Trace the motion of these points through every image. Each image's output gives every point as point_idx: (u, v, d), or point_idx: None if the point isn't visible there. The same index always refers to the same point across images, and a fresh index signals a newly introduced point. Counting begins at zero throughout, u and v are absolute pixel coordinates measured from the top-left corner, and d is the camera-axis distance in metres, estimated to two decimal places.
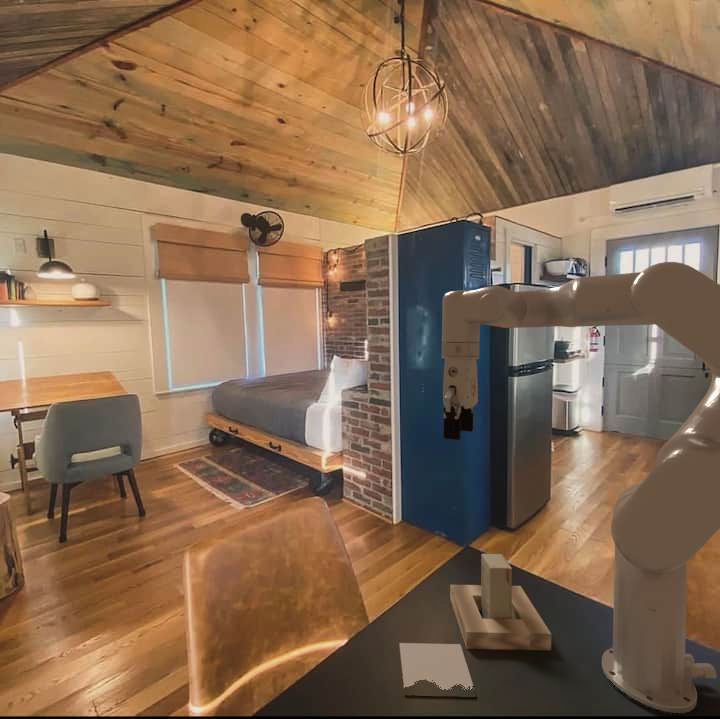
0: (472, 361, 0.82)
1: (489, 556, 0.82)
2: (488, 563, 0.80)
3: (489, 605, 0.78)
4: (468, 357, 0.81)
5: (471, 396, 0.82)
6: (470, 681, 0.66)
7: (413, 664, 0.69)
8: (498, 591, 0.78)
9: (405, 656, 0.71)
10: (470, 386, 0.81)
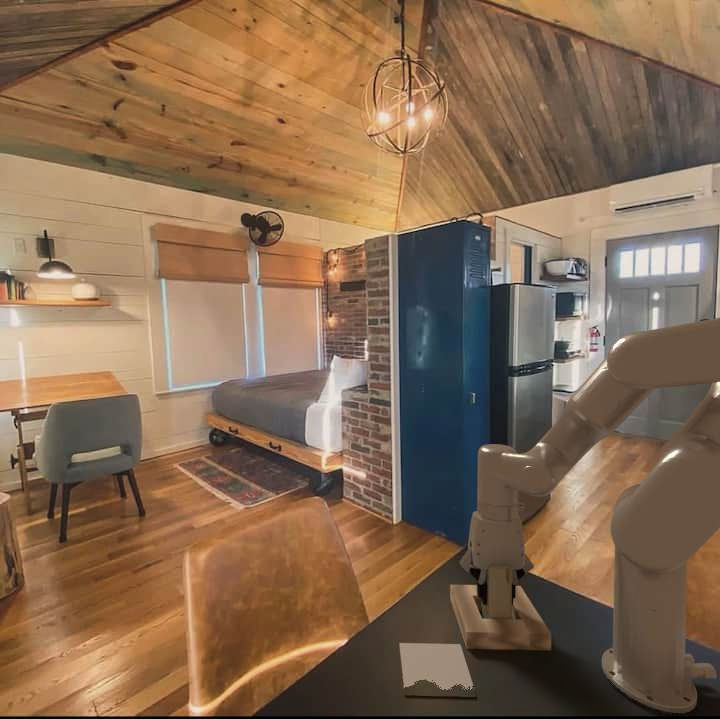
0: None
1: None
2: None
3: (489, 605, 0.78)
4: None
5: None
6: (470, 681, 0.66)
7: (413, 664, 0.69)
8: (498, 591, 0.78)
9: (405, 656, 0.71)
10: None
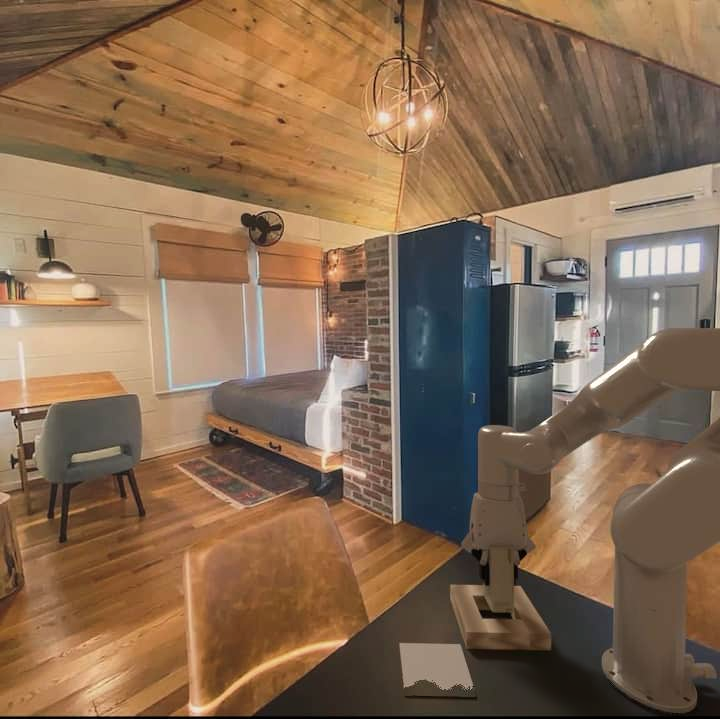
0: None
1: None
2: None
3: (491, 585, 0.78)
4: None
5: None
6: (470, 681, 0.66)
7: (413, 664, 0.69)
8: (500, 571, 0.77)
9: (405, 656, 0.71)
10: None
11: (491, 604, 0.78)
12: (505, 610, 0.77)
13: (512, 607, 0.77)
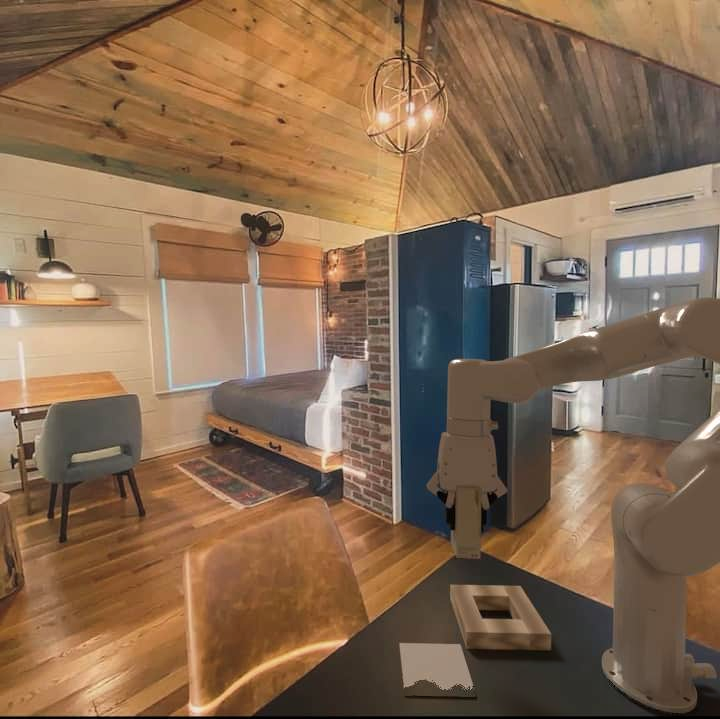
0: None
1: None
2: None
3: (456, 529, 0.72)
4: None
5: None
6: (470, 681, 0.66)
7: (413, 664, 0.69)
8: (466, 514, 0.71)
9: (405, 656, 0.71)
10: None
11: (456, 549, 0.72)
12: (470, 556, 0.71)
13: (478, 553, 0.71)
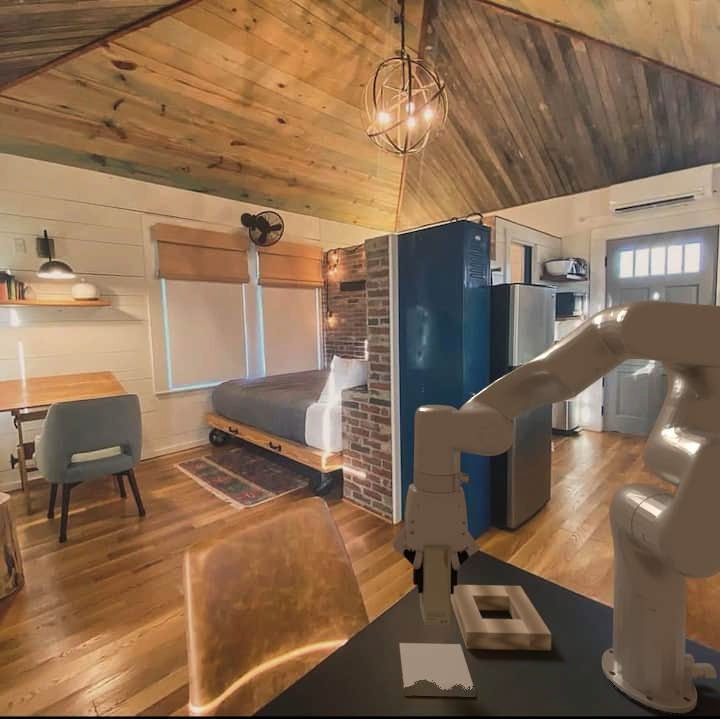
0: None
1: None
2: None
3: (424, 593, 0.66)
4: None
5: None
6: (470, 681, 0.66)
7: (413, 664, 0.69)
8: (434, 576, 0.65)
9: (405, 656, 0.71)
10: None
11: (424, 615, 0.66)
12: (439, 622, 0.65)
13: (448, 619, 0.65)
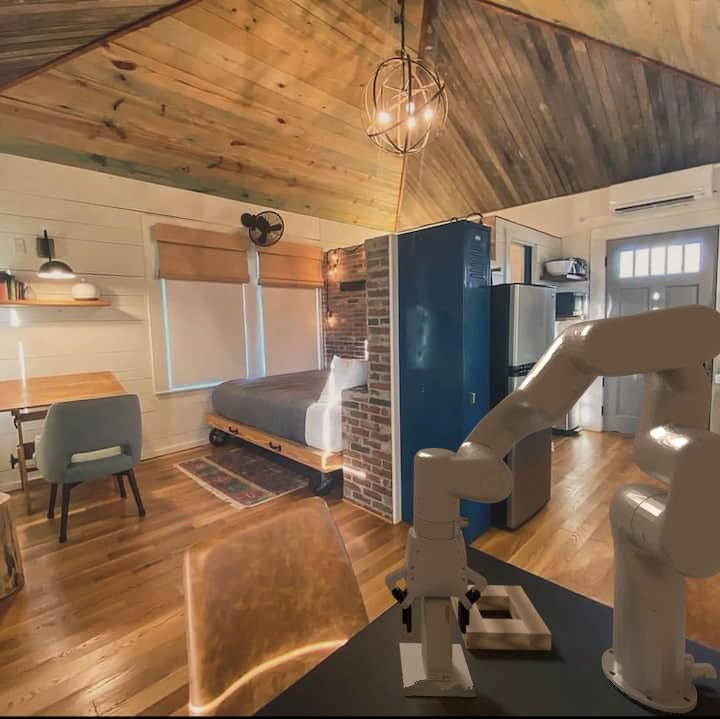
0: None
1: None
2: (426, 598, 0.68)
3: (426, 648, 0.66)
4: None
5: None
6: (470, 681, 0.66)
7: (413, 664, 0.69)
8: (436, 632, 0.66)
9: (405, 656, 0.71)
10: None
11: (426, 670, 0.66)
12: (441, 678, 0.65)
13: (450, 674, 0.65)
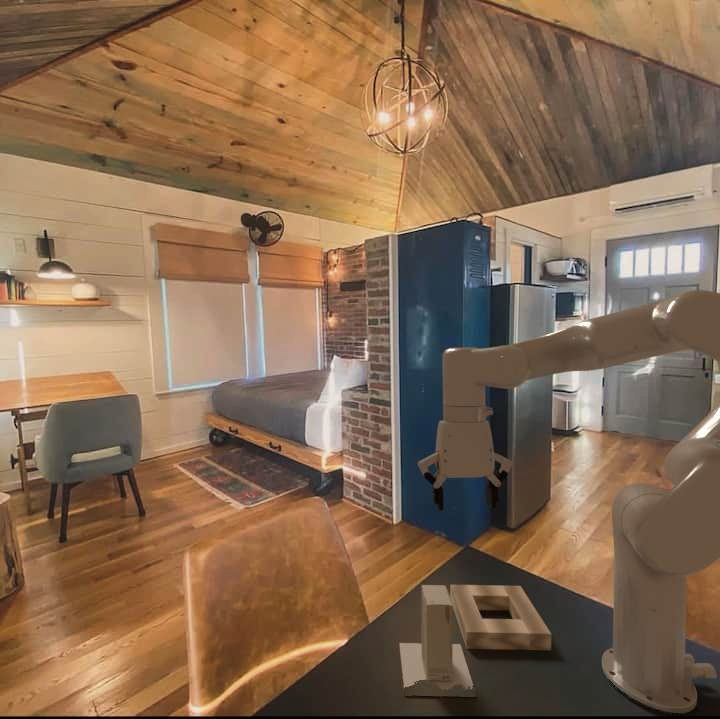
0: None
1: (429, 589, 0.70)
2: (426, 598, 0.68)
3: (426, 648, 0.66)
4: None
5: None
6: (470, 681, 0.66)
7: (413, 664, 0.69)
8: (436, 632, 0.66)
9: (405, 656, 0.71)
10: None
11: (426, 670, 0.66)
12: (441, 678, 0.65)
13: (450, 674, 0.65)
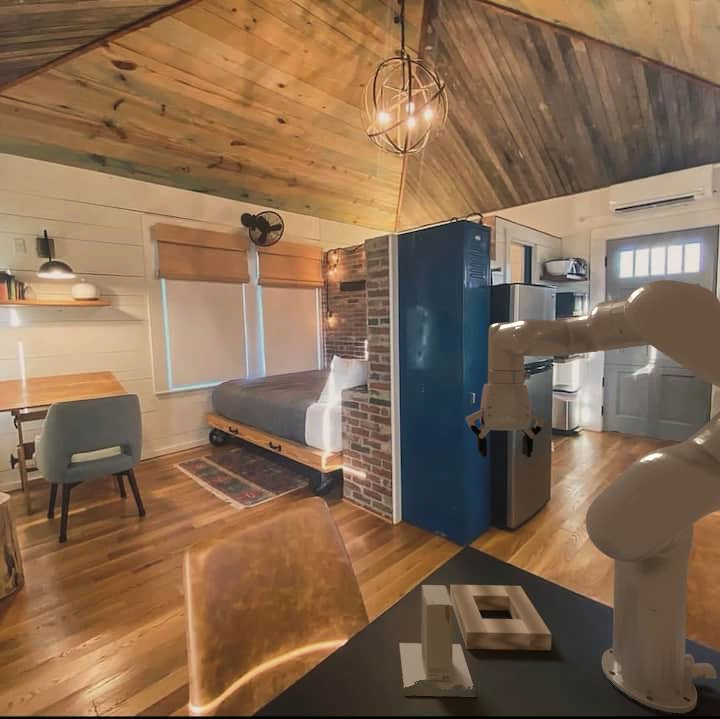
0: None
1: (429, 589, 0.70)
2: (426, 598, 0.68)
3: (426, 648, 0.66)
4: None
5: None
6: (470, 681, 0.66)
7: (413, 664, 0.69)
8: (436, 632, 0.66)
9: (405, 656, 0.71)
10: None
11: (426, 670, 0.66)
12: (441, 678, 0.65)
13: (450, 674, 0.65)
